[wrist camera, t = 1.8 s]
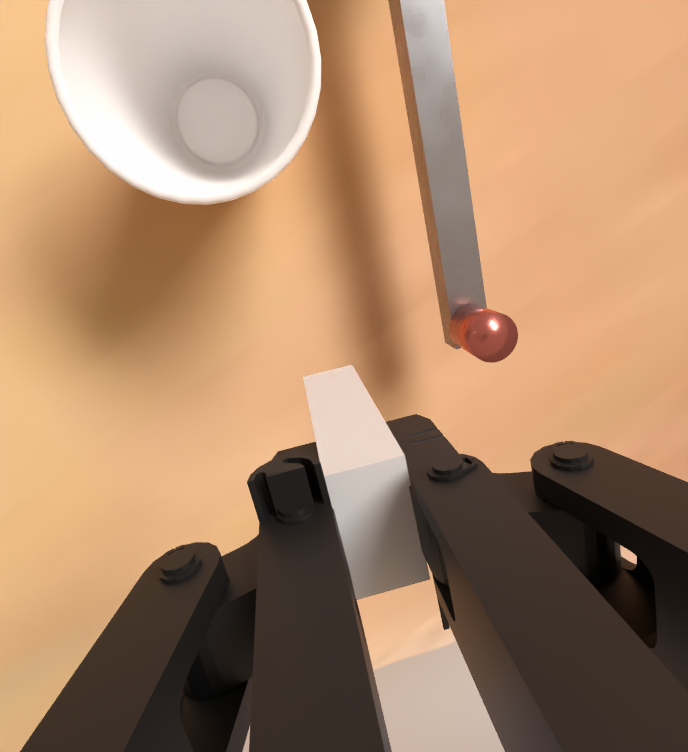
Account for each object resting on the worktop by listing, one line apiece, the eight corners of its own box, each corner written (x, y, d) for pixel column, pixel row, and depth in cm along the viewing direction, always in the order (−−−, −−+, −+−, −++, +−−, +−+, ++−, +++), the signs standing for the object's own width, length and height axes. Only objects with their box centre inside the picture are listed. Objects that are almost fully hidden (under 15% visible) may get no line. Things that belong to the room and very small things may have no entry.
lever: (425, 350, 29) (454, 372, 25) (322, -227, 22) (335, -349, 17) (498, 332, 30) (539, 350, 25) (421, -244, 22) (460, -369, 17)
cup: (275, 3, 28) (276, -133, 18) (325, 188, 31) (351, 166, 21) (98, 50, 28) (-8, -62, 17) (166, 233, 31) (110, 234, 20)
